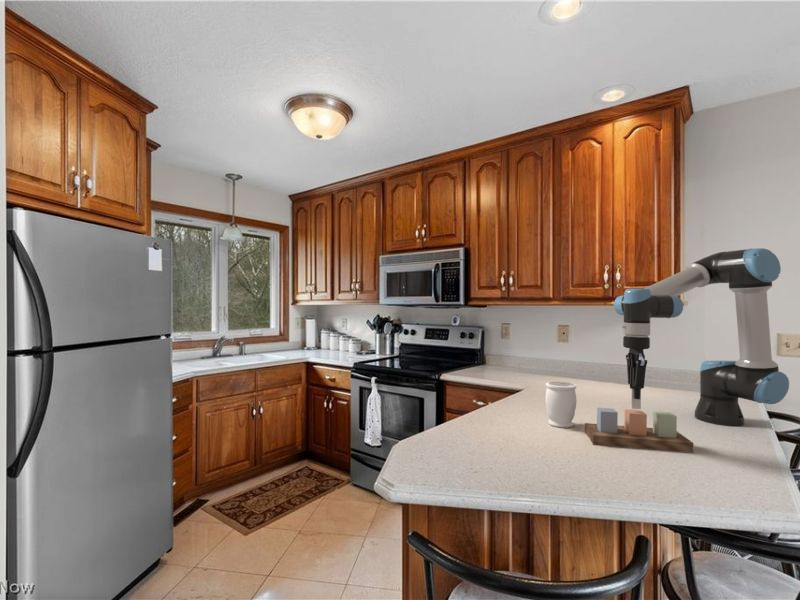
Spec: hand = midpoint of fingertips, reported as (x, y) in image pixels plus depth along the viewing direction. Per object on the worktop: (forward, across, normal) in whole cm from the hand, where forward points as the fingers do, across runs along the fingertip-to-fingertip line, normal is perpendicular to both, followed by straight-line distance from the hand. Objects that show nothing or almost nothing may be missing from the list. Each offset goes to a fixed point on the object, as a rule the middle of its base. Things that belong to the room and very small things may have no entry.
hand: (635, 408), depth 134 cm
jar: (+11, -13, -21) cm, 27 cm away
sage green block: (+9, 0, +9) cm, 12 cm away
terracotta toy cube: (+9, 0, 0) cm, 9 cm away
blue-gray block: (+9, 0, -8) cm, 12 cm away
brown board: (+11, 0, 0) cm, 11 cm away
